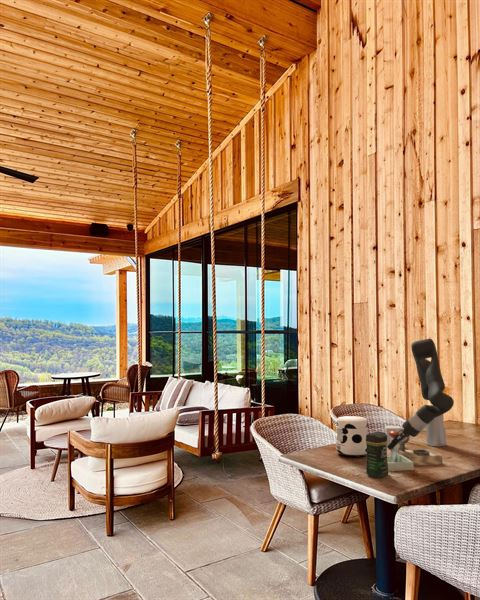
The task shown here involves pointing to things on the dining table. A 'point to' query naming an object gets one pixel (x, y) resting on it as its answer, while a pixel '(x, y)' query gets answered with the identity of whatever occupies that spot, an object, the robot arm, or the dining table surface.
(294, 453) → the dining table surface
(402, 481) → the dining table surface
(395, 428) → the small box
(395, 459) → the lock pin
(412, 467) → the tray
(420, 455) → the block
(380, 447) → the coffee jar
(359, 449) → the white printed canister
